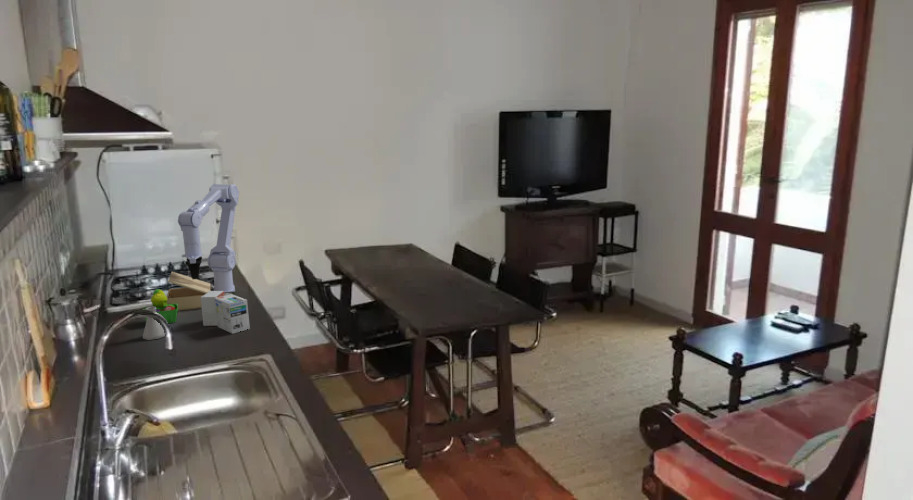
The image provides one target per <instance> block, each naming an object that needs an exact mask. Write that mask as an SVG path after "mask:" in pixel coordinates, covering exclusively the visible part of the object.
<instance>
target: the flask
mask: <svg viewBox="0 0 913 500" xmlns="http://www.w3.org/2000/svg"><path fill="white" fill-rule="evenodd" d="M147 307H148V308H146V307H145V308H146V310H151V311H153V312H156V311H155V310H156V307H151V306H147ZM164 331H165V330H164V328H163V326H162V324H161V325H160V323H158V322H157V321H156V320H154V319H153V318H149V317H147V321H146V320H145V327H144V331H143V333H142V339H143V340H147V341H150V340H156V339H157V340H159V339H161V338H164V337H166V336H165V334H166V332H165V333H164Z"/></svg>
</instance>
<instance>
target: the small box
mask: <svg viewBox="0 0 913 500" xmlns="http://www.w3.org/2000/svg"><path fill="white" fill-rule="evenodd" d="M225 294H226V293H224V291H214V290H211V291H209V292H208V293H206V294H205V295H203V296H202V297H200V298H201V307H202V308H201V315H202V324H203V326H204V327H205V326H206V327H209V326H210V327H211V326H212V327H214V326H217V327H218V323H217V313H216V304H215V298H216V297H221V296H225Z"/></svg>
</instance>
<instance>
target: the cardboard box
mask: <svg viewBox="0 0 913 500" xmlns="http://www.w3.org/2000/svg"><path fill="white" fill-rule="evenodd" d="M210 291H212V290H211V289H210ZM205 294H206V293H203V292H199V291H196V290H193V289H189V288H186V287H179V288H178V287H177V288H170V289H168V292H167V294H166V297H167V304H178V311H179V312H180V311H188V310H197V309H202V307H201V298H200V297H202V296H203V295H205ZM178 311H177V312H178Z"/></svg>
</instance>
